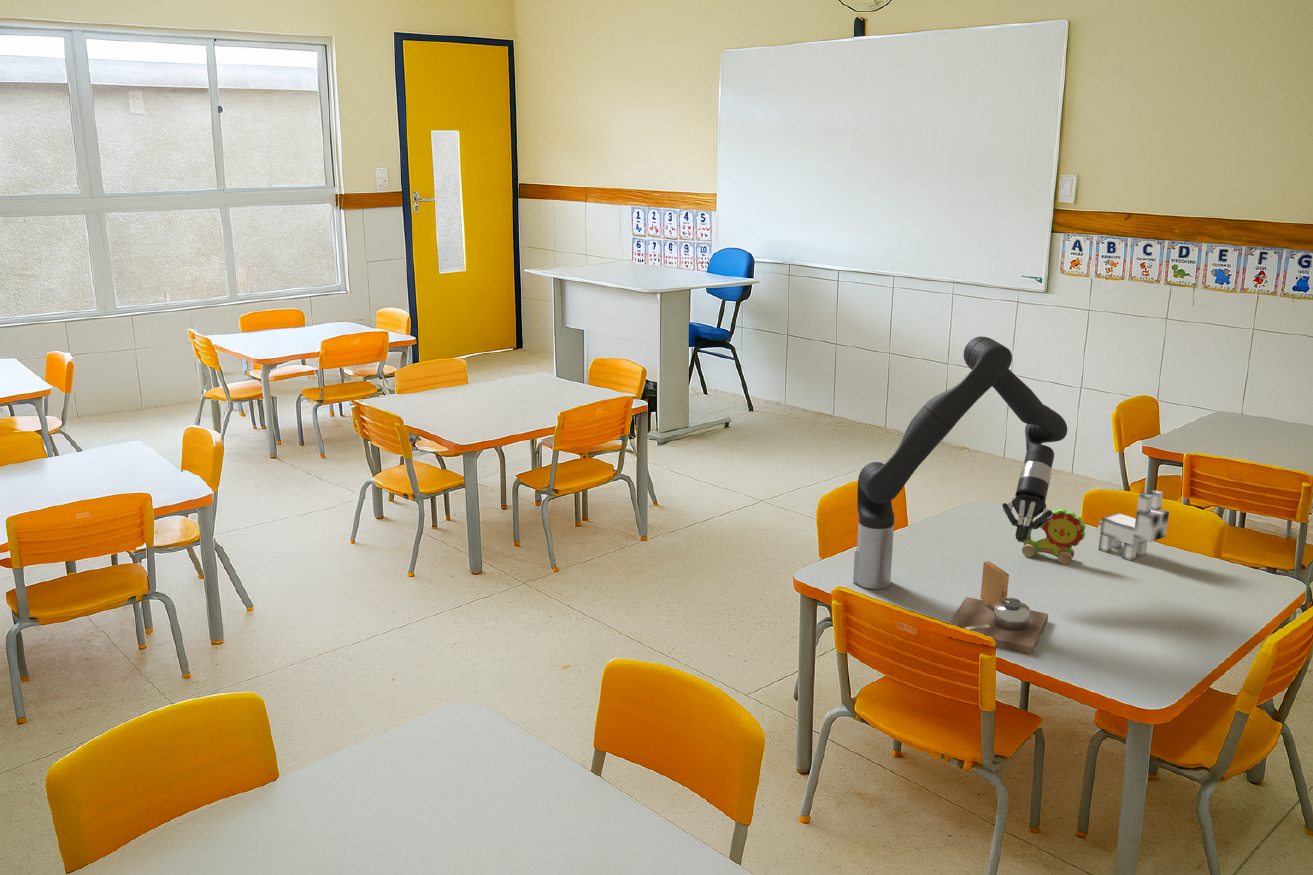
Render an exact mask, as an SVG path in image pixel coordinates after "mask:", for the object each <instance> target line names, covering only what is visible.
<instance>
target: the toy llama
mask: <svg viewBox="0 0 1313 875" xmlns="http://www.w3.org/2000/svg"><path fill="white" fill-rule="evenodd" d="M1163 496H1164V492H1163V491H1160V490H1156V489H1153V490H1149V492H1148V493H1145V492H1143V493H1140V494H1138V499H1137V508H1136V516H1135V518H1134V517H1133V516H1130V515H1125V514H1123V513H1120V512H1116V513H1114V514H1110V515H1107V516H1104V517H1102V519H1101V520H1100V521H1098V523H1097V524H1098V526H1097V530H1098V531H1100V536H1099V543H1098V551H1099V552H1102V553H1106V554H1107V553H1110V552H1112V549H1114V550H1117V549H1121V548H1123V550H1122V556H1121V557H1122V558H1121V559H1122V560H1125V561H1128V562H1133V561H1135V560H1136V558H1137V557H1138V558H1143V557H1146V555H1147V548H1148V543H1152V542H1155V541H1157V540H1160V539H1161V540H1162V539H1163V538H1166V537H1167V529H1168V523H1169V517H1170V516H1169V515H1170V511H1169V510H1165V509H1162V503H1163Z"/></svg>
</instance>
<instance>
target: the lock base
mask: <svg viewBox="0 0 1313 875" xmlns="http://www.w3.org/2000/svg"><path fill="white" fill-rule="evenodd" d="M953 614H954V615H953V616H952V618H951V619H950V620H949V622H948V624H951V625H956V626H958V627H960V628H964V629H967V630H970V631H975V632H978V633H981V634H984V635H985V636H990V637H992V638H993V639H994V640H995V642H996V646H997V647H996V648H998V647H999V649H1003V648H1005V649H1004V650H1007V649H1008V651H1011V650H1012V651H1013V652H1016V653H1021V654H1025V655H1030V656H1033V654H1034V652H1035V650H1036V647H1037V646H1038V642H1039V641H1040V639H1041V637H1040V636H1042V634H1043V631H1044V630H1045V628H1046V625H1047V623H1048V621H1049V613H1047V612H1046V613H1045V612H1041V611H1036V610H1032V609H1030V612H1029V622H1028V627H1027V628H1025V629H1021V630H1010V629H1005V628H1002V627H1000V626H998V625H996V624H995V623H994V621H993V617H994V608H993V607H991V606H990V605H989V604H987V603H986V602H985V601H983V600H982V599H979V598H975V597H974V598H973V597H969V596H965V598H964V600H963V601H962V603H961V604H960V606H959V607H958V608H957V610H956V612H955V613H953ZM1034 649H1035V650H1034Z"/></svg>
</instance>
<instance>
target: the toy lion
mask: <svg viewBox="0 0 1313 875" xmlns="http://www.w3.org/2000/svg"><path fill="white" fill-rule="evenodd" d="M1051 511H1052V515H1053V517H1052V518H1051V519H1050V520H1048V521H1047V522H1046V523H1044V524H1043V525H1042V526H1040V527H1039V528H1040V529H1041V530H1043V532H1044V533H1045V535H1046V537H1044V538H1040V539H1038V540H1034V539H1032V536H1031V535H1032V531H1033V529H1030V530H1029V533H1028V538H1027V540H1026V541H1025V540H1024V542H1023V546H1022V548H1021V553H1022V554H1023V556H1024V557H1027V558H1032V557H1034V556H1035V555H1036V554H1037V553H1042V554H1043V553H1045V554H1048V555H1051V556H1054V557H1055V558H1057V561H1058V562H1059V563H1060V564H1061V565H1069V564H1071V562H1072V561H1073V558H1074V556H1075V550H1074V548H1073V547H1077V546H1078V545H1079V544H1080V543H1081V541H1083V540H1084V539H1085V536H1086V533H1085V530H1086V524H1085V523H1084V522H1083V519H1082V517H1081V516H1079V515H1077V514H1076V513H1075V512H1074V511H1071V510H1067V509H1066V508H1059V509H1058V510H1051ZM1039 528H1038V529H1039Z"/></svg>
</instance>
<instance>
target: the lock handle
mask: <svg viewBox="0 0 1313 875" xmlns="http://www.w3.org/2000/svg"><path fill="white" fill-rule="evenodd" d="M1009 579H1010V574H1009V573H1008V572H1006V571H1005V570H1003V569H1002V568H1001V567H999V566H997V565H996V564H994V563H993V562H992V561H990V560H987V561H983V565H982V576H981V586H980V600H983V601H985V602H986V603H987V604H989V605H990V606H991V607H993V608H994V617H993V621H994V623H995V624H996V625H998V626H1000V627H1002V628H1005V629H1010V630H1021V629H1025V628H1027V627H1028V622H1029V612H1030V610H1031V609H1030V607H1029V606H1028V605H1027V604H1025V603H1023V602H1021V600H1020V599H1018V598H1013V597H1008V590H1009Z"/></svg>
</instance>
